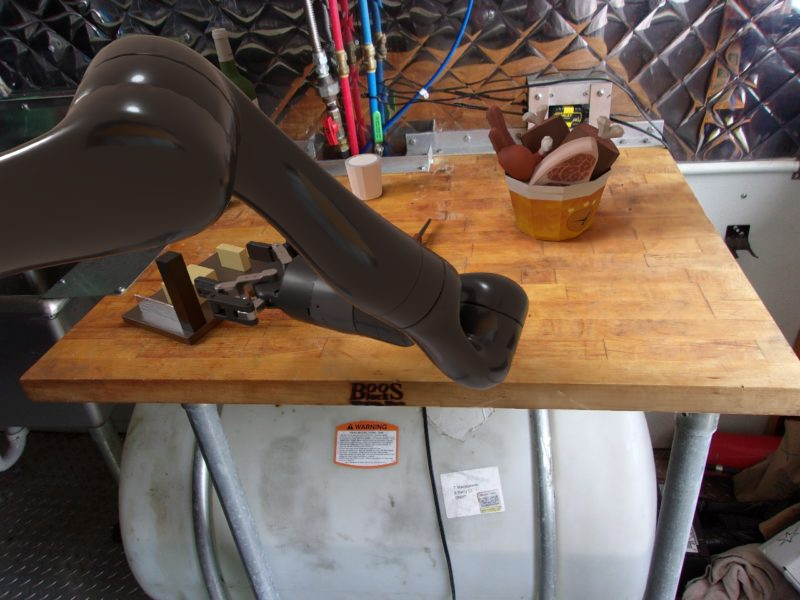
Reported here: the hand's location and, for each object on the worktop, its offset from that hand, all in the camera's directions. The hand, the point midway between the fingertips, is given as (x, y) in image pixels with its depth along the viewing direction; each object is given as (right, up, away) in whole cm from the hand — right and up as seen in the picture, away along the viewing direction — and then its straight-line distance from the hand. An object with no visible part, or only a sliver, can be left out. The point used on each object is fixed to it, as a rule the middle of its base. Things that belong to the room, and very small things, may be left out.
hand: (224, 266), depth 69 cm
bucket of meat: (+45, +8, +26) cm, 53 cm away
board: (-8, -3, +20) cm, 22 cm away
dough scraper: (-12, -6, +14) cm, 19 cm away
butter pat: (-5, +1, +24) cm, 24 cm away
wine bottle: (-10, +22, +57) cm, 62 cm away
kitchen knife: (+23, +4, +25) cm, 35 cm away
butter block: (-10, -3, +18) cm, 20 cm away
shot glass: (+14, +16, +45) cm, 50 cm away
